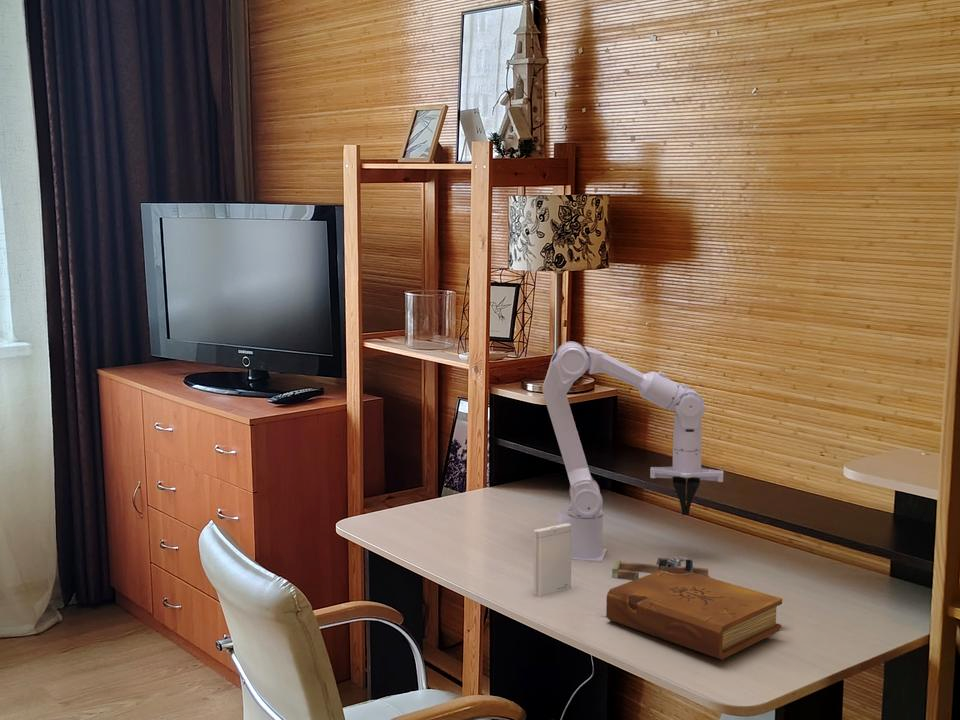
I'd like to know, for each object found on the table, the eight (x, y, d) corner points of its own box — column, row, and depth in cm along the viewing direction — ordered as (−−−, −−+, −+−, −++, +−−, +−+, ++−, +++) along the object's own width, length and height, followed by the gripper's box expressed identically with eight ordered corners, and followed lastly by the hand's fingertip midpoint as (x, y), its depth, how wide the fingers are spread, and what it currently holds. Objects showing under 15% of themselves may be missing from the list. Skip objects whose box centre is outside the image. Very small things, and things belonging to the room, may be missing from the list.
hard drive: (572, 589, 199) (572, 524, 197) (537, 597, 194) (538, 532, 193) (566, 586, 200) (567, 522, 199) (532, 595, 195) (532, 530, 194)
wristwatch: (665, 581, 205) (665, 557, 204) (688, 577, 207) (688, 553, 206) (673, 587, 202) (674, 562, 201) (696, 583, 204) (697, 558, 203)
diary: (606, 622, 183) (606, 590, 183) (670, 596, 196) (670, 566, 196) (719, 661, 167) (720, 626, 166) (781, 630, 180) (782, 597, 179)
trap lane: (609, 586, 200) (609, 576, 200) (618, 562, 215) (618, 552, 214) (706, 594, 196) (706, 583, 196) (708, 568, 210) (709, 558, 210)
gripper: (649, 450, 212) (648, 516, 213) (723, 454, 208) (721, 521, 210) (652, 443, 218) (651, 507, 220) (724, 447, 215) (722, 512, 217)
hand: (685, 513), depth 216 cm, fingers closed
